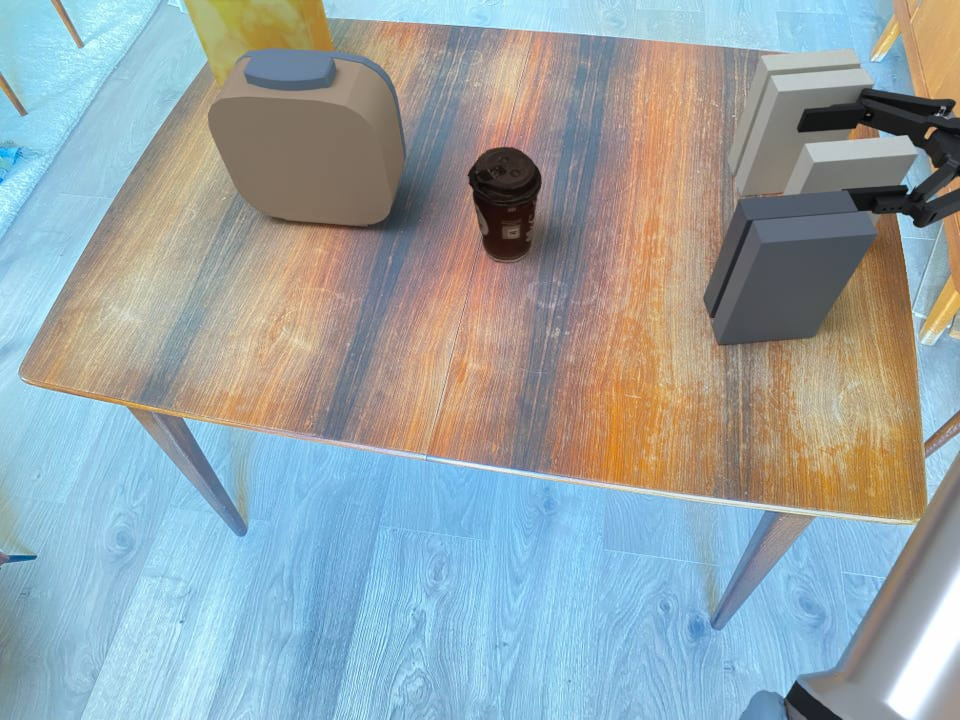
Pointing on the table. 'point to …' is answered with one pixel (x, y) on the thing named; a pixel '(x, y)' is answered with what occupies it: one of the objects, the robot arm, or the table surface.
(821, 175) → the white book
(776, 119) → the white books
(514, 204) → the coffee cup
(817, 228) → the grey books
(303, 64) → the alarm clock
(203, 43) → the yellow marbled panel
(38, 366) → the table surface
